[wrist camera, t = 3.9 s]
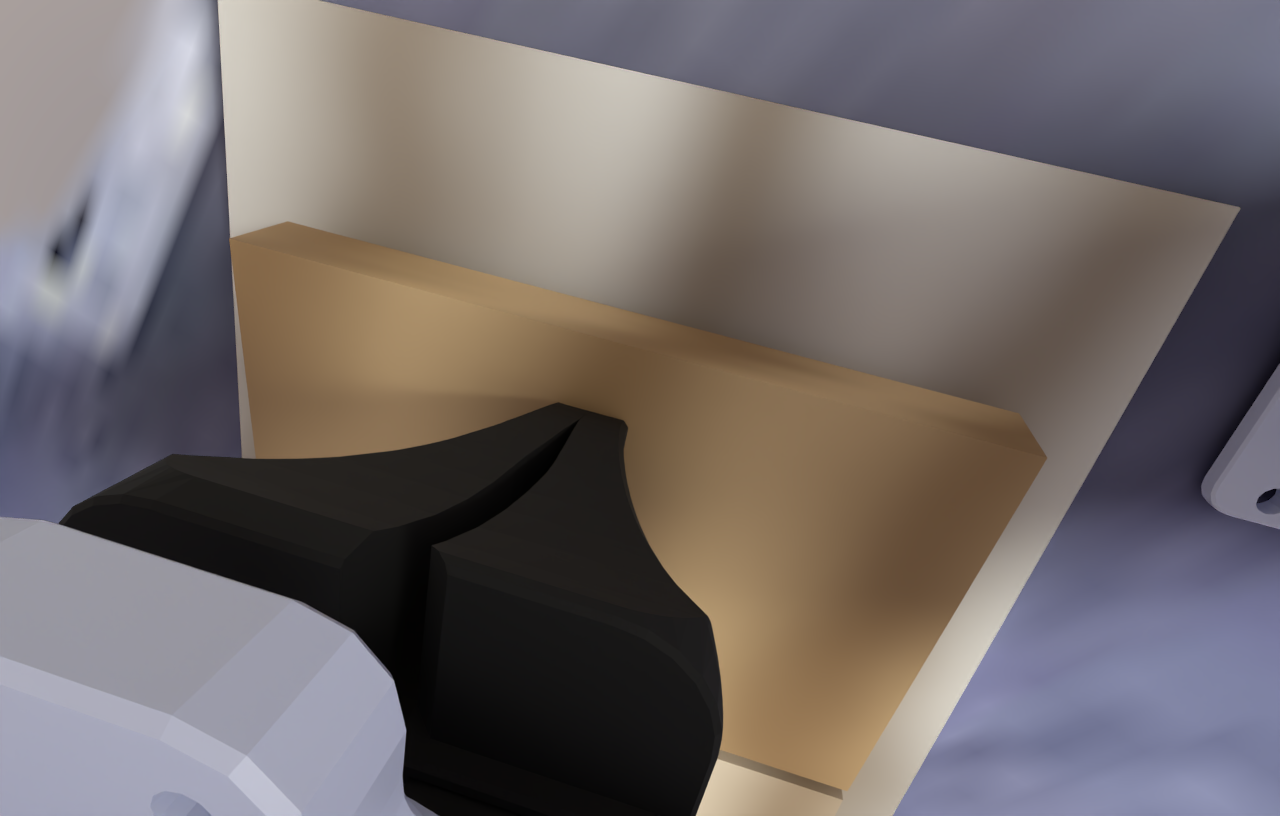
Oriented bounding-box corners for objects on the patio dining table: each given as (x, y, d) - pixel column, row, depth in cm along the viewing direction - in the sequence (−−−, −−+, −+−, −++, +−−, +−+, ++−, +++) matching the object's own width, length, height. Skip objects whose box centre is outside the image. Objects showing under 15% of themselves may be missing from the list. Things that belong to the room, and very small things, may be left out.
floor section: (1221, 204, 11) (1313, 218, 9) (824, 912, 19) (830, 995, 17) (237, -17, 12) (141, -44, 11) (267, 719, 21) (217, 775, 19)
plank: (1019, 413, 11) (1047, 458, 10) (843, 731, 16) (847, 790, 14) (287, 221, 13) (229, 238, 11) (313, 562, 17) (273, 603, 16)
